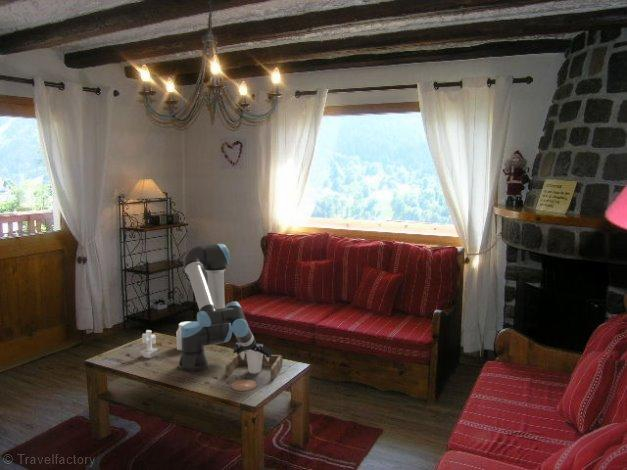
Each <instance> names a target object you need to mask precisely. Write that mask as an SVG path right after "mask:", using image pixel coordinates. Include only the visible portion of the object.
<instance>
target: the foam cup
mask: <svg viewBox="0 0 627 470" xmlns="http://www.w3.org/2000/svg"><path fill="white" fill-rule="evenodd" d="M244 353H246V356H247V363H248V365H247V368H248V369H247V370H248V373H250V374H259V373H261V372H262V367H263V366H262V359H263V354H262V353H260V352H258V351H257V352H255V351H253V350H245V351H244Z"/></svg>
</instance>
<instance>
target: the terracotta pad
mask: <svg viewBox="0 0 627 470" xmlns="http://www.w3.org/2000/svg"><path fill="white" fill-rule="evenodd" d="M256 387H257V382H256V381H255V380H253V379H249V378H248V379H247V378H244V379H237V380H235V381H233V382H232V383H231V389H233V391H234V390H235V391H238V392H239V391H240V392H249V391H251V390H253V389H255V388H256Z"/></svg>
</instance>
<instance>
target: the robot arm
mask: <svg viewBox="0 0 627 470" xmlns="http://www.w3.org/2000/svg"><path fill="white" fill-rule="evenodd" d="M230 263H231V255H230V251H229V249H228V247H227V246H226V245H225V244H224V243H211V244H209V243H208V244H200V245H199V244H198V245H194V246H192V247H191V248H189V250H187V252H186V254H185V256H184V258H183V270H184V272H185V273H186V274H187V275H188V278H189V281H190V285H191V287H192V291H193V294H194V296H195V301H196V303H197V304H196V305H197V306H198V310H199V311H198V312H197V314H196V320H195V321H190V323H187V324H185V325H184V326H183V327H182V328H181V345H182V350H181V355H180V358H179V362H178V369H179V370H180V371H182V372H186V373H187V372H188V373H191V372H193V373H194V372H199V371H203V370H205V369H206V368H208V366H209V361H208V358H207V355H206V352H205V347H206V346H213V345H217V344H218V345H219V344H224V343H227V342H229V341H230V340H231V338H232V336H233V335H232V334H234V336H235V338H236V340H237V341H236V343H235V345H234V347H233V350H232V351H233V354H236V353H237V354H238V355H239V356H241V358H242V360H244V356H245V354H244V353H245V350H253V351H255V352H257V351H258V352H260V353H262V354H264V355H265V358H266V360H267V361H269V358H270V356H271V355H273V350H272V349H271V348H269V347H268V346H266V345H265V344H264V343H263V342H260V343H257V342H256V339H255V336H254V335H253V332H252V331H251V329H250V326H249V324H248V321H247V319H246V316H245V313H244V311H243V308H242V306H241V304H240V303H239V302H238V301H231V302H228V303H226V301H225V276H224V275H225V274H224V272H225V271H226V270H227V266H228V265H230ZM203 269H204V270H203ZM204 271H205V272H206V274H207V279H206V275H205V273H204Z"/></svg>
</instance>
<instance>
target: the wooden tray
mask: <svg viewBox="0 0 627 470" xmlns="http://www.w3.org/2000/svg"><path fill="white" fill-rule="evenodd" d="M243 353H244V354H245V356H244V360H242V358H241V356H239V355H238V354H237V353H234V355H233V356H232V357H231V358H230V360H229V361H228V362H227V363H226V364H225V376H226V377H230V376H231V375H232V374H233V372H234V371H235V370H236V369H237V367H238V366H239V365H244V366H245V365H247V366H248V363H247V356H246V352H243ZM262 367H270V380H271V381H275V379H276V378H277V375H278V374H279V372H280V370H281V369H282V368H283V355H280V354H272V355H271V356H270V358H269V361H267V360H266V358H265V355H264V354H263V359H262Z"/></svg>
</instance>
